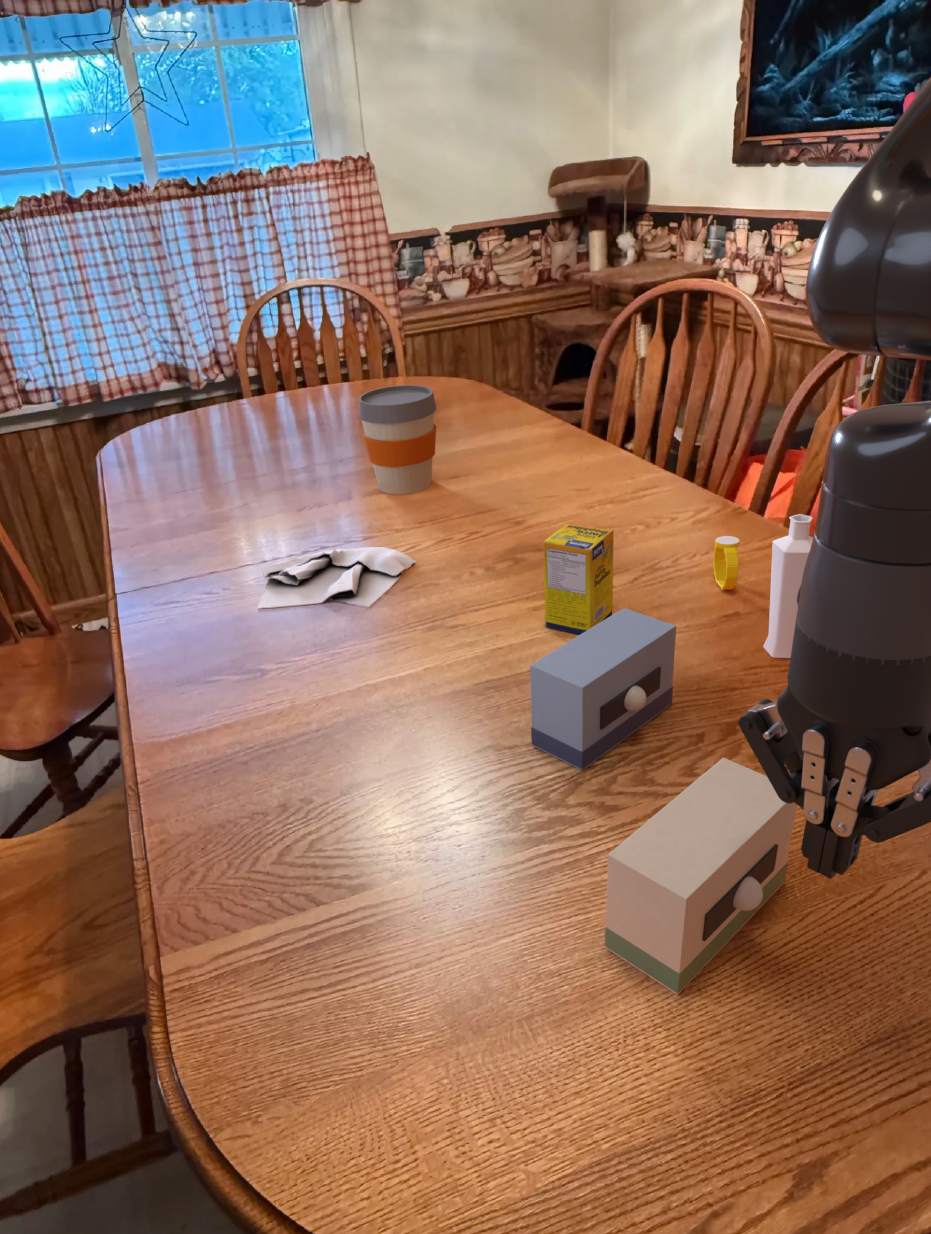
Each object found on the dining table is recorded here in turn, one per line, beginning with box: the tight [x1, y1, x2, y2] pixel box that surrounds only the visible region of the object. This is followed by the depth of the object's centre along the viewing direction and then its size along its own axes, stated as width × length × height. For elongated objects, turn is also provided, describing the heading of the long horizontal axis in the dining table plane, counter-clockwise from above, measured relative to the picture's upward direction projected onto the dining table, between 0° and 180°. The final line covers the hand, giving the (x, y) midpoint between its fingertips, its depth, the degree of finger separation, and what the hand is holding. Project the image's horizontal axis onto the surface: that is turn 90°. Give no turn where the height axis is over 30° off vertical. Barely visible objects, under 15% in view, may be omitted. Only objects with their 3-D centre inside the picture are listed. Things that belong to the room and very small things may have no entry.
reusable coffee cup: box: [358, 384, 437, 495], centre depth 147 cm, size 13×13×15 cm
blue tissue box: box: [529, 607, 677, 771], centre depth 84 cm, size 14×8×9 cm, turn 133°
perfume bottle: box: [762, 513, 814, 659], centre depth 92 cm, size 5×4×15 cm
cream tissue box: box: [604, 757, 798, 996], centre depth 63 cm, size 14×8×9 cm, turn 133°
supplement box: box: [542, 522, 614, 635], centre depth 102 cm, size 6×6×11 cm
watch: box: [712, 535, 741, 591], centre depth 108 cm, size 6×3×6 cm, turn 179°
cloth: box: [257, 546, 417, 610], centre depth 121 cm, size 20×22×2 cm
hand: (825, 866), depth 55 cm, fingers closed
